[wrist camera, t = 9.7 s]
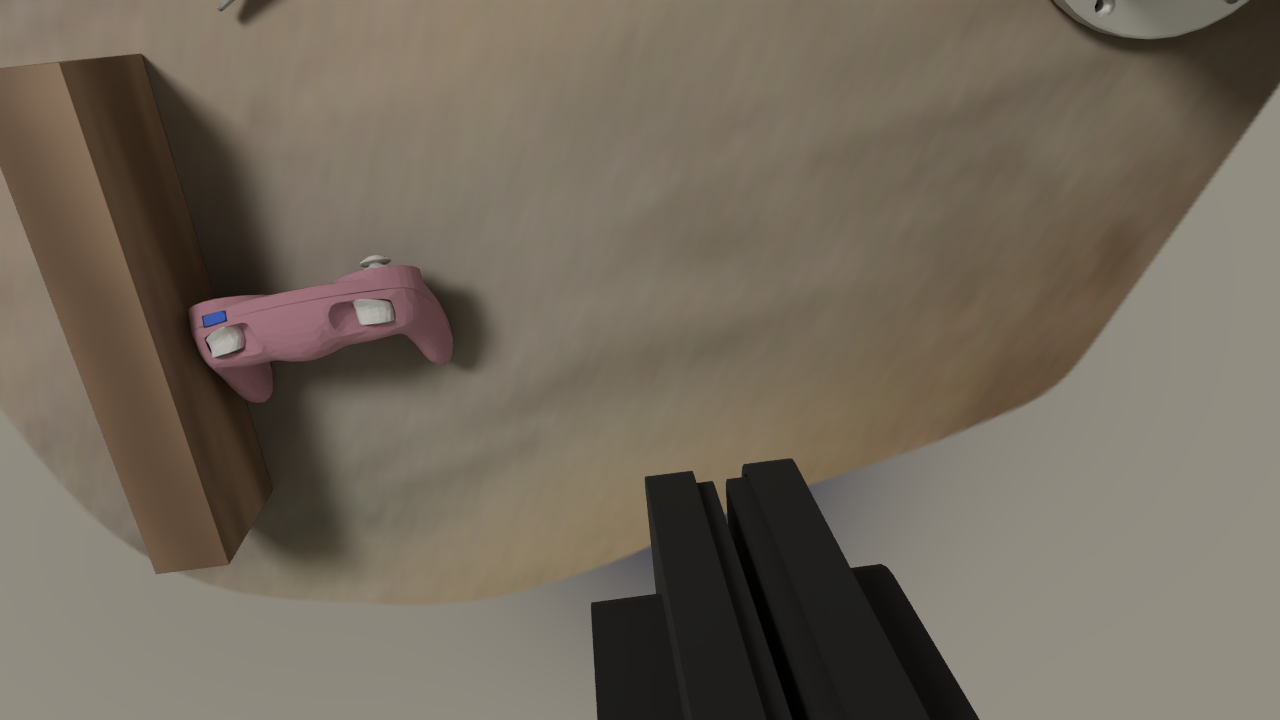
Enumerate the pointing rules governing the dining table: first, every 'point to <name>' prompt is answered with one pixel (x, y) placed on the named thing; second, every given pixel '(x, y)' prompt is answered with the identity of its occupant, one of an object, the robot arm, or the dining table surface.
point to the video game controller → (317, 323)
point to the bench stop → (131, 300)
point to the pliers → (224, 4)
